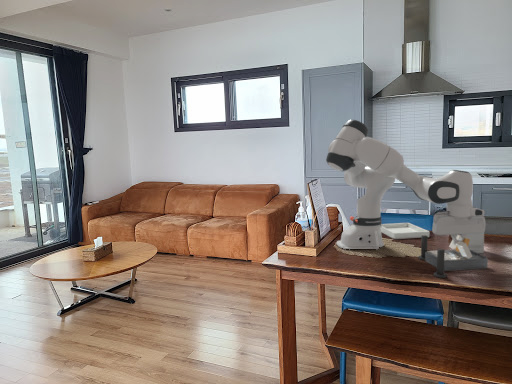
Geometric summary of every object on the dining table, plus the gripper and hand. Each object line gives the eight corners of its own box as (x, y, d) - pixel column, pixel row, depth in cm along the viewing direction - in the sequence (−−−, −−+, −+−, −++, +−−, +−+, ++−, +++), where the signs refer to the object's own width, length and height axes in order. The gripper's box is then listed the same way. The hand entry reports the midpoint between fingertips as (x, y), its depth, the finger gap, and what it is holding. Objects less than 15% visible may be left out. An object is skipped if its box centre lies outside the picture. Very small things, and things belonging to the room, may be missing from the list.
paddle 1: (454, 249, 151) (461, 236, 150) (448, 246, 155) (455, 234, 154) (458, 251, 151) (465, 238, 150) (452, 248, 155) (459, 235, 154)
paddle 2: (468, 258, 141) (462, 245, 140) (461, 255, 145) (455, 243, 144) (472, 256, 141) (466, 243, 140) (465, 253, 145) (459, 240, 144)
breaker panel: (443, 271, 141) (443, 259, 140) (424, 260, 154) (425, 250, 153) (487, 268, 143) (487, 256, 142) (465, 258, 155) (465, 247, 155)
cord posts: (435, 277, 134) (436, 251, 133) (417, 257, 159) (417, 234, 158) (448, 278, 134) (449, 251, 132) (427, 257, 158) (428, 234, 157)
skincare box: (482, 250, 166) (483, 216, 164) (484, 254, 160) (485, 219, 158) (460, 248, 169) (462, 215, 167) (462, 252, 163) (463, 218, 161)
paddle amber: (461, 253, 146) (465, 238, 145) (455, 250, 150) (459, 236, 149) (465, 253, 146) (469, 239, 145) (459, 251, 150) (463, 237, 149)
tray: (394, 239, 189) (394, 233, 189) (376, 229, 211) (376, 224, 211) (429, 237, 191) (429, 231, 190) (408, 227, 213) (408, 222, 212)
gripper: (438, 213, 141) (437, 248, 143) (488, 210, 143) (487, 245, 144) (429, 210, 148) (428, 244, 149) (477, 208, 149) (476, 241, 151)
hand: (457, 244), depth 147 cm, fingers closed
